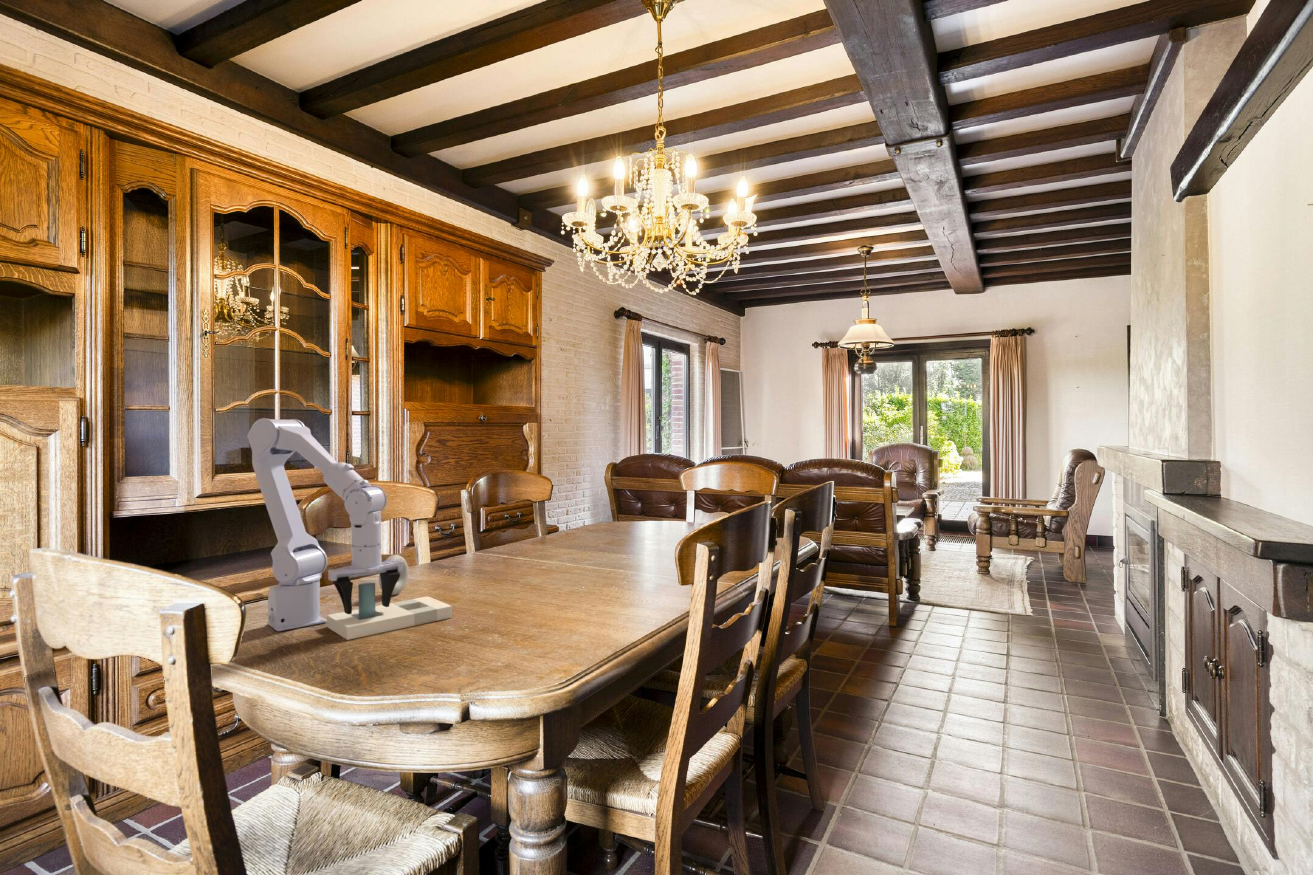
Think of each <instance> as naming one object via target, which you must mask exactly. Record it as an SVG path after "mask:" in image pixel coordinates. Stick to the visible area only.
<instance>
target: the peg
mask: <svg viewBox="0 0 1313 875" xmlns="http://www.w3.org/2000/svg"><path fill="white" fill-rule="evenodd" d="M357 588H358V590H357V591H358V609H359V620H362V619H367V618H372V617H375V606H376V582H369V581H368V582H361V583H359V584H358V586H357Z"/></svg>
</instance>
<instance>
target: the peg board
mask: <svg viewBox="0 0 1313 875" xmlns="http://www.w3.org/2000/svg"><path fill="white" fill-rule="evenodd" d="M451 618H453V606H452V605H451V604H448V603H446V602H443V601H441V600H438V599H435V598H433V597H430V596H421V597H418V598H411V599H405V600H402V601H395V602H390V604H389V607H384V606H382V604H379V605H375V617H372V618H367V619H362V620H359V608H358V609H352V614H346V613H345V612H344V611H342V612H335V613H331V614H326V620H327V622H326V628H328V629H330V630H331V631H333V632H334V633H336V634H337V635H339V636H340V637H342V638H344V639H345V640H347V641H349V640H353V639H357V638H363V637H368V636H372V635H377V634H382V633H386V632H391V631H395V630H401V629H405V628H410V627H414V626H418V625H419V626H420V625H424V624H427V623H433V622H437V621H442V620H446V619H451Z"/></svg>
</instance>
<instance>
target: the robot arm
mask: <svg viewBox="0 0 1313 875" xmlns="http://www.w3.org/2000/svg"><path fill="white" fill-rule="evenodd" d="M311 432H312V431H311V429H310V428H309V427H308V426H305V424H304V422H302V421H301V420H299V419H297V418H296V419H295V418H291V419H275V418H274V419H273V418H271V419H270V418H264V417H263V418H259V419H257V420H255V421H254V423H253V424H252V426H251V427H250V430H249V431H248V433H247V435H246V437H247V440H248V443H249V445H250V449H251V459H252V460H251V463H252V468H253V472H254V473H255V477H256V480H257V483H258V485H259V488H260V492H261V495H262V497H263V498H262V499H263V500H264V503H265V506H266V510H267V512H268V516H269V519H270V521H271V524H272V527H273V531H274V533H275V536H276V539H277V543H276V545H275V546H274V547H273V549H272V550H271V552H270V556H271V559H272V565H271V566H272V567H271V568H272V573H273V576H274V578H275V580H276V581H278V584H275V585H271V586H269V589H268V592H267V595H268V596H267V600H268V601H267V605H268V606H267V610H268V611H267V614H268V620H267V625H269V626H270V627H271V628H272V629H274V630H276V632H282V631H287V630H288V631H289V630H292V629H298V628H303V627H308V626H314V625H318V624H324V623H327V618H324V617H323V616H321V597H320V596H321V592H320V591H321V589H320V587H321V586H320V584H321V583H320V581H321V580H320V579H322V575H323V573H324V572H325V570H326V569H327V566H328V564H329V563H328V562H329V561H328V556H327V554H326V552H325V550H324V549H323V548H322V547H321V546H320V544H319V542H318V539H316V538H315V537H314V536H312V535H311V534H309V533H308V532H306V531H307V530H306V529H305V525H304V522H303V519H302V516H301V513H300V511H299V507H298V505H297V501H296V498H295V495H294V493H293V490H292V487H291V484H290V481H289V478H288V475H287V472H286V470H285V469H286V468H285V464H286V462H287V460H288V459H290V458H291V456H292V455H293V454H294V453H295V452H296V453H298V454H299V455H301V456H302V457H303V458H304V459H305V460H306V461H308V462H309V463H310V464H311V465H312V466H314V467H315V468H317V469H318V470H319V471H320V472H322V473H323V483H325V484H326V486H328V487H329V488H330V489H331V490H332V491H333V492H334V493H335V494H336V495H338V497H340V498H341V499H342V501H344V502H343V503H344V504H343V505H344V509H345V511H346V513H347V514H348V515H349V522H350V523H351V524H350V525H351V527H350V528H351V534H350V535H351V565H348V566H343V567H339V568H335V569H329V570H327V571H328V573H327V578H328V579H327V580H328V581H331V582H332V583H333V585H334V587H335V589H336V590H337V592H338V594H339V597H340V599H341V602H342V606H343V610H344V611H343V612H345V613H346V614H352V610H353V606H352V605H353V604H352V597H353V596H352V595H353V594H352V593H353V586H354V582H353V581H351V578H355V577H363V576H371V575H377V574H379V573H380V577H381V585H382V590H381V605H382V606H384V607H389V604H390V603H391V600H392V596H393V595H392V593H393V590H394V587H395V585H396V583H397V581H398V579H399V578H400V572H398V571H401V570H403V561H400V560H397V561H387V562H384V561H382V511H383V510H384V509H385V508H386V505H387V501H388V500H387V495H386V492H385V491H384V490H383V488H382V487H381V486H379V485H373V484H372V485H371V484H370V482H369V480H367V479H364V478H363V477H362V476H361V475H360V474H359V473H358V472H357V471H355V470H354V469H355V466H354V465H352V464H351V463H346V462H344V461H341V462H337V461H336V459H335V458H334V457H333V456H332V455H331V454H330V453H329V452H328V451H327V450H326V449H325V447H323V446H322V445H321V444H320V443H319V442H318V440H317V439H316V438H315V437H314V436H313V435H312V433H311Z"/></svg>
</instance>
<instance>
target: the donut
mask: <svg viewBox="0 0 1313 875" xmlns="http://www.w3.org/2000/svg"><path fill="white" fill-rule="evenodd" d="M397 560H400V561H403V570H401V571H398V572H400V578H399V579H398V581H397V583H396V585H395V587H394V590H393V593H392V596H396V595H398V594H399V593H401V592H402V591H403V589H404V588H405V586H406V584H407V581H408V577H409V565H408V563H407V560H406V559H405V557H403V556H401V555H399V554H393V555H392V554H391V555H390V556H389V557H387V558H386V559H385V560H384V561H383V562H387V561H397ZM378 584H379V587H380V589H381V591H382V585H381V577H380V573H378Z"/></svg>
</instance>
